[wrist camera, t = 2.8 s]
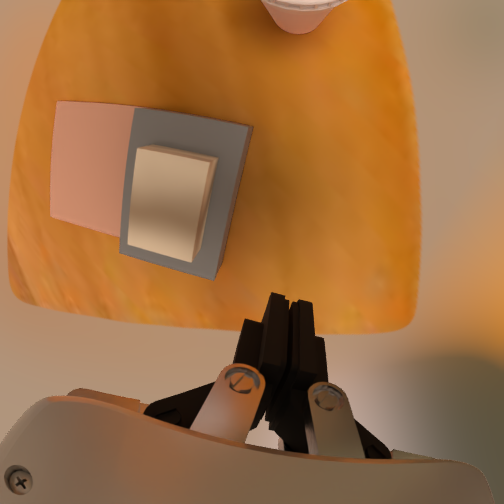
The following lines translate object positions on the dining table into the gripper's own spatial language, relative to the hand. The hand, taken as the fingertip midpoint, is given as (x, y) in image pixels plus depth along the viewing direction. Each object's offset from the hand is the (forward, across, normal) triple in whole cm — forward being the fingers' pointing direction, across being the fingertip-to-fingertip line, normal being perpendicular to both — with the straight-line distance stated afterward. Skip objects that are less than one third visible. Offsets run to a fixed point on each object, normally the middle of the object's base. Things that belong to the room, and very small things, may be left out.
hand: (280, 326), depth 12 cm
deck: (+14, +9, -1) cm, 16 cm away
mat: (+14, +18, -1) cm, 23 cm away
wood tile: (+9, +8, -1) cm, 13 cm away
